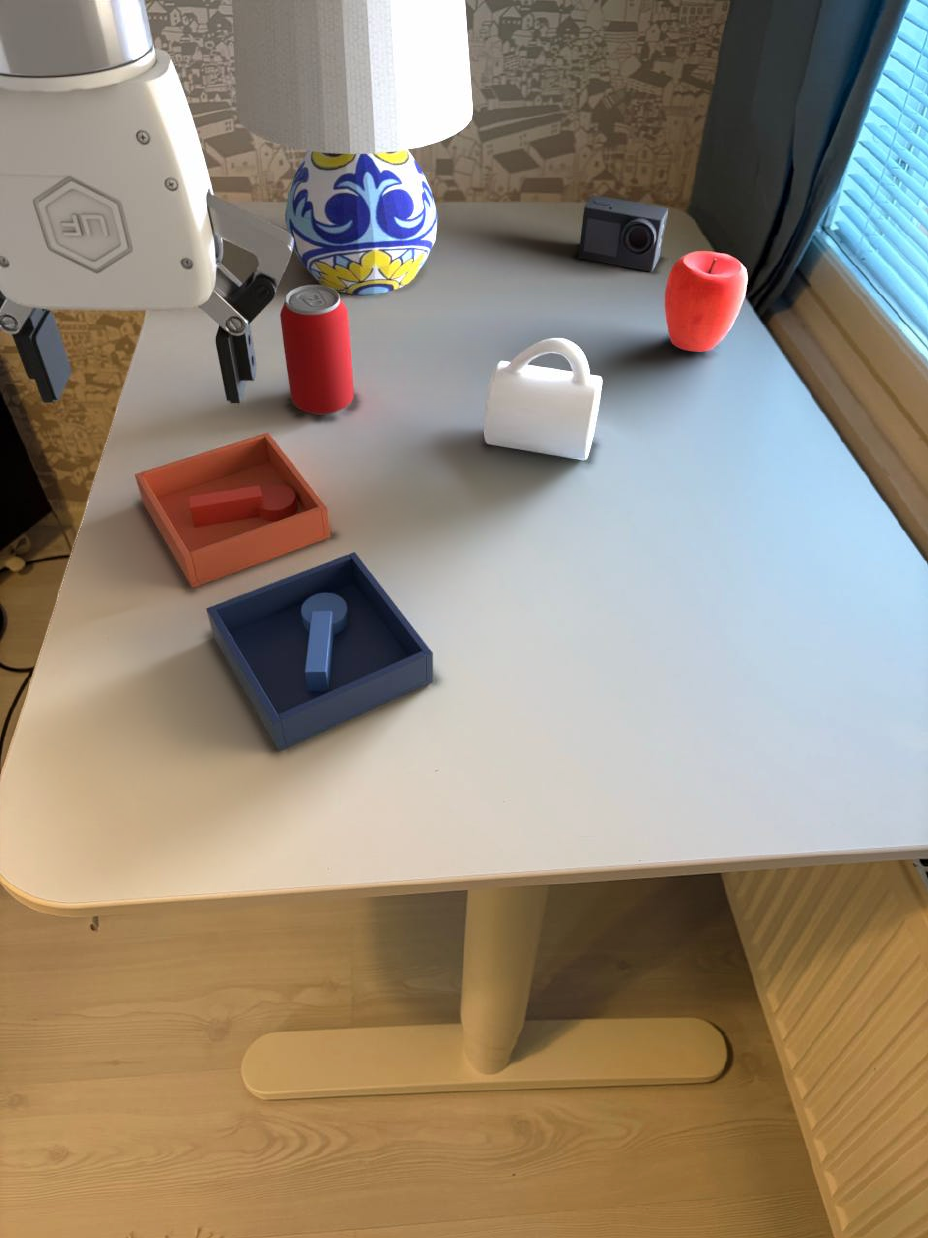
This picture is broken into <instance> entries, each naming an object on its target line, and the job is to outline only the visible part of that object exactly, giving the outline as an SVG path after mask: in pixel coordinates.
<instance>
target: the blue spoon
mask: <svg viewBox="0 0 928 1238" xmlns="http://www.w3.org/2000/svg"><path fill="white" fill-rule="evenodd" d="M301 615H302V622H303V626H304V628H305V629H306V630H307V631H308V632H309V641H308V649H307V658H306V666H305V676H306V683H307V689H308V691H329V680H330V669H331V659H332V648H333V638H334V635H335V634H338V633H339V632H341V631H342V630H343V629H344V628H345V627H346V625H347V623H348V608H347V604H346V602H345V600H344V599H343V598H342V597H340V596H339V595H337V594H333V593H318V594H315V595H313V596H311V597H309V598H308V599H307V600H305V602H304V603H303V605H302V607H301Z"/></svg>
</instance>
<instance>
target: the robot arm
mask: <svg viewBox="0 0 928 1238" xmlns="http://www.w3.org/2000/svg"><path fill="white" fill-rule="evenodd" d="M148 15H149V14H148V10H147V5H146V0H0V330H1V331H2V332H4V333H6V334H8V335H12V339H13V341H14V344H15V347H16V349H17V352H18V354H19V357H20V361H21V363H22V366H23V368H24V370H25V371H24V372H25V374H26V376H27V377H28V379H29V380H34V382H35V385H36V387H37V390H38V393H39V394H40V398H41V401H42V402H43V403H44V404H49V403H50V404H51V403H53V404H54V403H55V404H56V402H57V401H59V400H60V399H61V396H62V395H63V392H64V390H65V388H66V386H67V385H68V382H69V380H70V378H71V375H72V366H71V364H70V360H69V358H68V357H69V356H68V355H67V351H66V348H65V345H64V342H63V339H62V336H61V333H60V330H59V327H58V324H57V321H56V318H55V317H56V316H55V315H54V312H53V310H58V311H120V312H121V311H126V312H127V311H130V312H131V311H132V312H136V311H138V312H139V311H140V312H141V311H142V312H143V311H145V312H146V311H147V312H149V311H150V312H151V311H152V312H154V311H155V312H157V311H160V312H163V311H165V312H167V311H169V312H171V311H184V310H190V309H194V308H197V307H198V308H200V309H201V310H202V311H203V312H204V313H205V314H206V315H208V317H210V318H211V319H212V320H213V321H214V322H215V323H216V324H217V325H218V329H217V332H216V334H215V347H216V352H217V358H218V362H219V366H220V367H219V368H220V373H221V379H222V383H223V388H224V393H225V399H226V401H227V402H229V403H230V404H231V405H232V404H235V405H236V404H237V405H239V404H242V401H243V398H244V395H245V390H246V386H247V382H253V381H255V380H256V376H257V357H256V353H255V346H254V340H253V333H252V327H251V324H252V322H253V321H254V320H255V319H256V318H257V317H258V316H259V314H261V312H263V310H264V309H265V308H266V307H267V306H268V305H269V304H270V303H271V302H272V301H273V300H274V298H275V296H276V293H277V290H278V288H279V285H280V282H281V281H282V278H283V277H284V275H285V272H286V269H287V267H288V264H289V262H290V259H291V258H292V252H293V250H294V249H293V244H294V239H293V237H292V235H291V234H290V233H288V232H287V230H285V229H283V228H281V227H279V226H277V225H275V224H272V223H271V222H269V221H267V220H265V219H263V218H260V217H259V216H257V215H254V214H252V213H251V212H248V211H246V210H244V209H242V208H240V207H238V206H236V205H234V204H232V203H231V202H228V201H226V200H224V199H222V198H220V197H218V196H216V195H214V191H213V187H212V182H211V179H210V175H209V174H210V173H209V171H208V167H207V164H206V159H205V155H204V152H203V150H202V144H201V141H200V139H199V134H198V131H197V129H196V125H195V122H194V118H193V115H192V112H191V108H190V107H189V103H188V100H187V97H186V93H185V92H184V88H183V86H182V84H181V80H180V77H179V75H178V72H177V70H176V68H175V65H174V63H173V60H172V58H171V55H170V54H169V53H168V52H167V51H165V50H163V49H158V48H155V46H154V41H153V36H152V30H151V26H150V25H151V24H150V20H149V16H148ZM223 240H224V241H226V242H228V243H230V244H232V245H235V246H237V247H239V248H241V249H243V250H245V251H247V252H249V253H251V254H252V255H254V256H255V257H256V258H257V260H258V263H257V266H256V268H255V269H254V270H253V271H252V272H251V273H250V275H248V277H247V278H246V279H245V280H244V281H243V282H241V281H240V280H239V279H238V278H237V277H236V276H235V275H234V274H233V273H232V272H231V271H229V269H228V268H227V267H225V266H224V265H223V264H222V263H221V262H222V261H223V257H224V243H223Z"/></svg>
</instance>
